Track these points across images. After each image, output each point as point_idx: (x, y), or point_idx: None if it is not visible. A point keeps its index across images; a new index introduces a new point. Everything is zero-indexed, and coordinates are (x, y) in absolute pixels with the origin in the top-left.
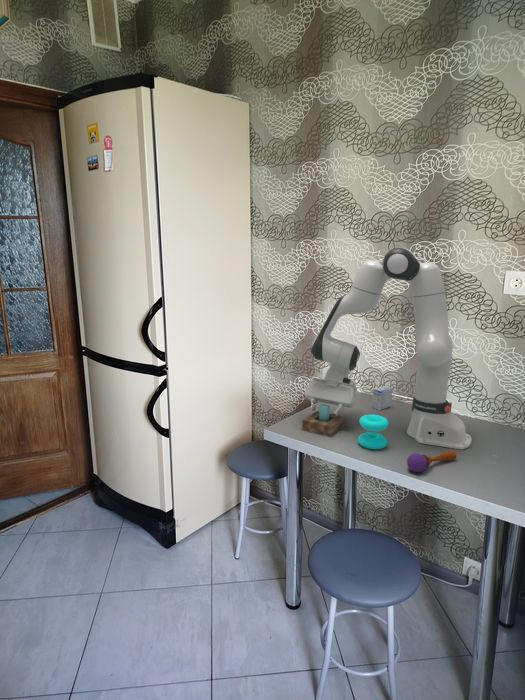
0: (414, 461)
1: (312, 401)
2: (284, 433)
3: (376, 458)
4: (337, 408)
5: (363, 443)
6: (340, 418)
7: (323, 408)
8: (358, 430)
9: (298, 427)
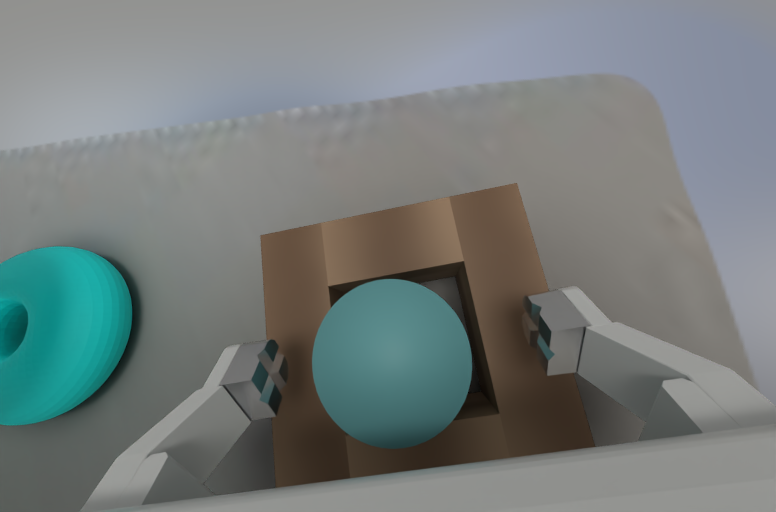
0: None
1: (657, 360)
2: (533, 100)
3: (26, 204)
4: (197, 405)
5: (70, 247)
6: (289, 460)
7: (362, 285)
8: None
9: (545, 228)
